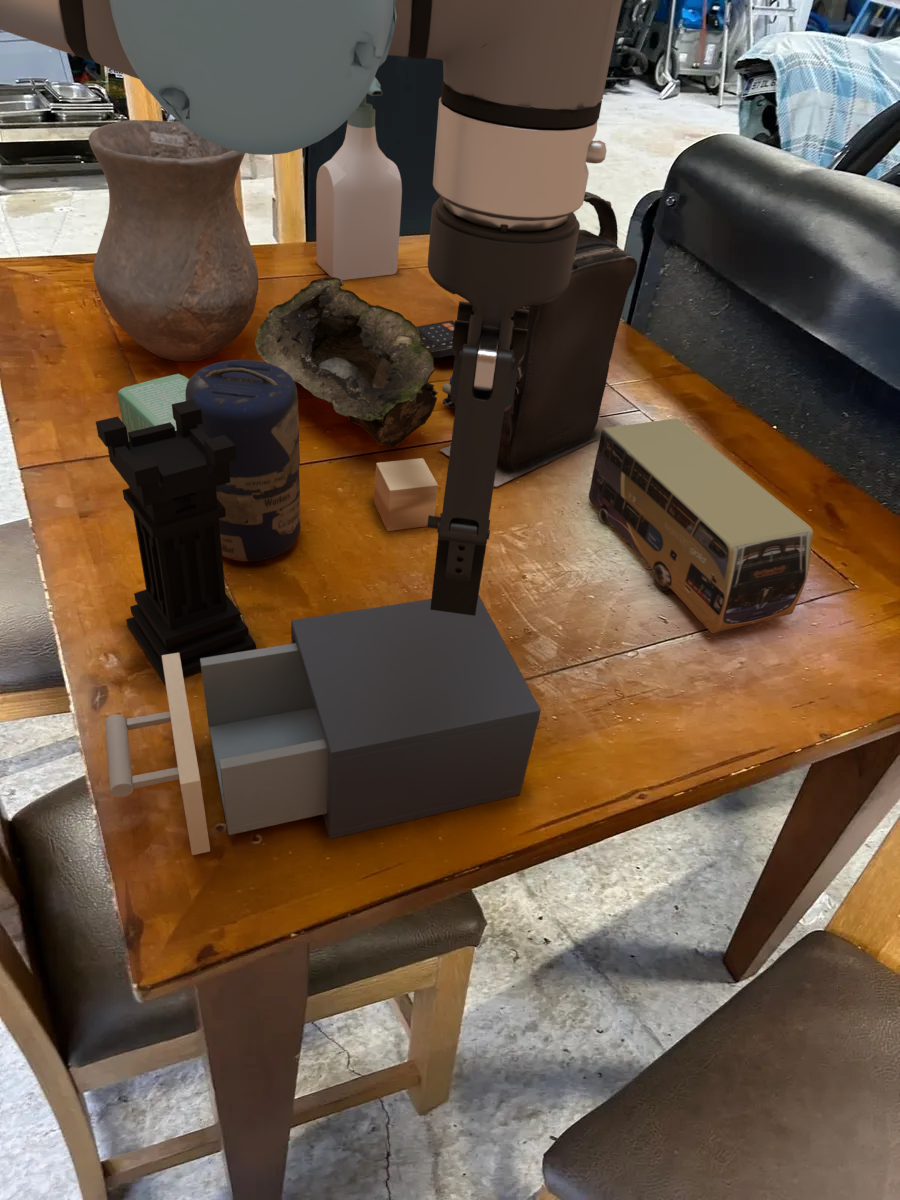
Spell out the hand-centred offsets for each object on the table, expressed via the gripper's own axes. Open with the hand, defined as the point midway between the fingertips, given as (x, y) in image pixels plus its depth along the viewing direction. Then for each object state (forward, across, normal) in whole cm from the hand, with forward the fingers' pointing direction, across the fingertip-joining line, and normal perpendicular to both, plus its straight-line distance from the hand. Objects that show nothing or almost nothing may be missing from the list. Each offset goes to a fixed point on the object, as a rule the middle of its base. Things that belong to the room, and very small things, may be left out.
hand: (463, 541), depth 58 cm
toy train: (+19, +58, -2) cm, 61 cm away
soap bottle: (+19, +90, +22) cm, 95 cm away
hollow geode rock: (+19, +47, +16) cm, 53 cm away
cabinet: (+19, -3, +2) cm, 19 cm away
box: (+19, +31, +30) cm, 48 cm away
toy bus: (+19, +27, -22) cm, 40 cm away
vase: (+19, +57, +39) cm, 72 cm away
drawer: (+18, -8, +13) cm, 24 cm away
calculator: (+19, +68, +6) cm, 71 cm away
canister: (+19, +21, +21) cm, 35 cm away
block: (+19, +28, +7) cm, 35 cm away
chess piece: (+19, +6, +22) cm, 30 cm away
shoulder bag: (+19, +46, -6) cm, 51 cm away
